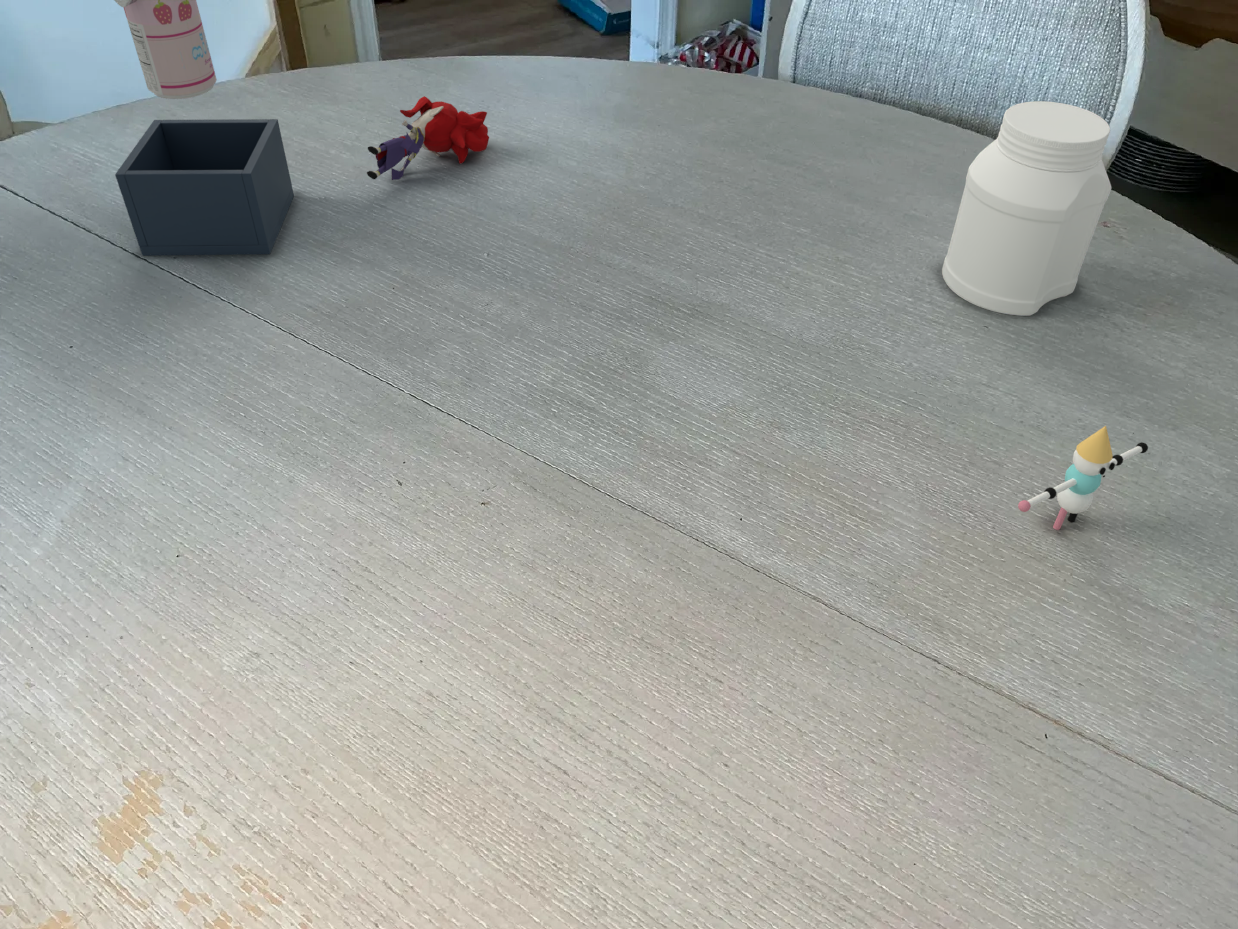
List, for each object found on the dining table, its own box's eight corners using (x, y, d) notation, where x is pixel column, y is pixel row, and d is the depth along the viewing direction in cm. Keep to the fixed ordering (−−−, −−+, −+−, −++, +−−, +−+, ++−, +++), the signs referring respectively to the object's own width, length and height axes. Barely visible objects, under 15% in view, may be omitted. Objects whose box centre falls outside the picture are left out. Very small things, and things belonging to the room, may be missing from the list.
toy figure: (1017, 569, 65) (1058, 469, 60) (988, 545, 67) (1025, 445, 61) (1139, 505, 70) (1187, 406, 64) (1109, 483, 72) (1154, 386, 66)
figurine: (347, 176, 104) (438, 127, 113) (411, 213, 102) (499, 160, 112) (347, 119, 99) (443, 73, 109) (415, 157, 97) (506, 107, 107)
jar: (1012, 326, 86) (1067, 160, 76) (923, 278, 92) (964, 118, 82) (1089, 284, 92) (1150, 123, 82) (1001, 241, 97) (1048, 86, 87)
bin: (142, 256, 93) (114, 174, 87) (177, 196, 101) (154, 119, 96) (270, 254, 93) (250, 173, 88) (294, 196, 102) (277, 118, 97)
